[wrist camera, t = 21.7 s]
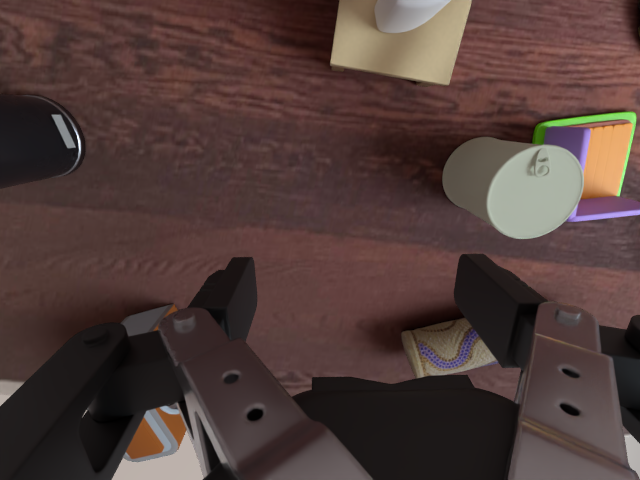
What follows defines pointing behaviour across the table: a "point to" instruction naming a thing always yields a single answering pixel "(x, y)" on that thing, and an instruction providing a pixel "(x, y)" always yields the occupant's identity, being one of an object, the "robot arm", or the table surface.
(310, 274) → the table surface
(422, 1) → the eye dropper bottle
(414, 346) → the decorative bottle
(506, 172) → the can
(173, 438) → the alarm clock
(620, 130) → the dollhouse room
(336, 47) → the stand
